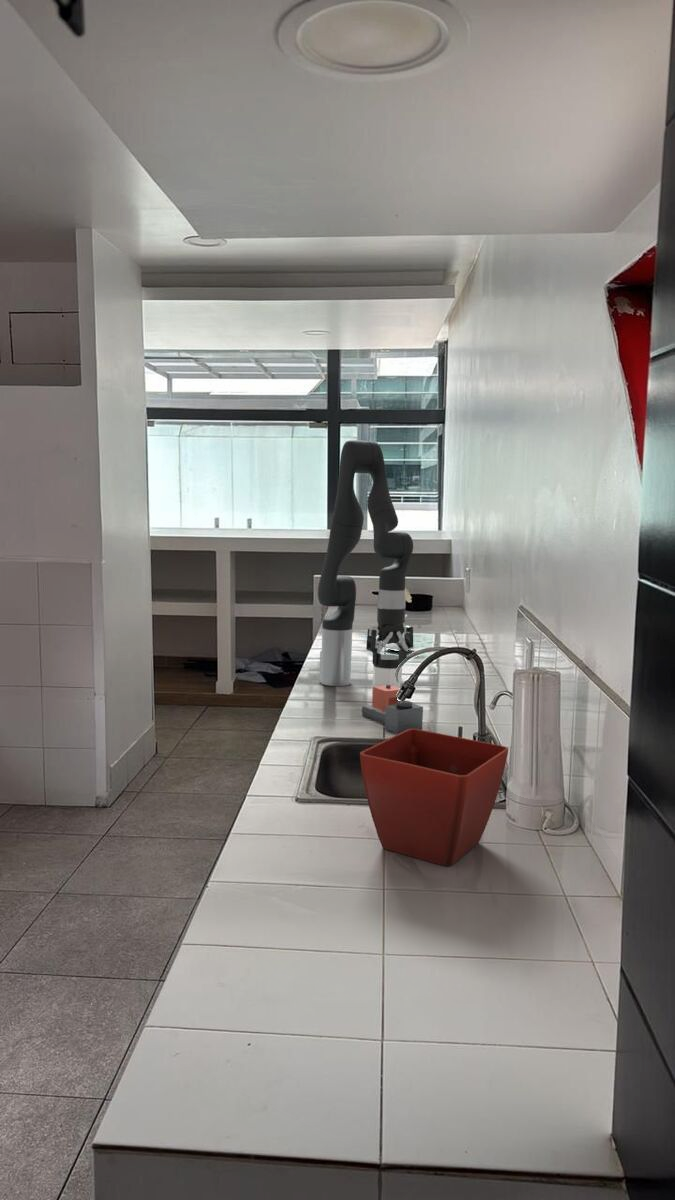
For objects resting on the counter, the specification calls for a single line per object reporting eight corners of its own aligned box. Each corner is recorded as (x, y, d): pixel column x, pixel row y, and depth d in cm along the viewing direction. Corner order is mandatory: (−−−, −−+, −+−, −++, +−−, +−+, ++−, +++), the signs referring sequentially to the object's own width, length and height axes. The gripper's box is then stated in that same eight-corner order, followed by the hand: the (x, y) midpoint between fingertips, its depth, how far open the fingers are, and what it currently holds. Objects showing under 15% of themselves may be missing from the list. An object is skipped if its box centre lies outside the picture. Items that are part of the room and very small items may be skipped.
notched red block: (372, 708, 240) (372, 683, 239) (389, 705, 243) (390, 681, 243) (385, 713, 235) (386, 688, 234) (402, 710, 238) (403, 686, 238)
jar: (382, 702, 247) (383, 660, 245) (365, 696, 254) (367, 655, 252) (407, 699, 252) (409, 658, 250) (390, 693, 259) (391, 653, 257)
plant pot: (459, 881, 134) (465, 775, 132) (353, 851, 144) (357, 752, 142) (505, 841, 150) (510, 746, 148) (406, 816, 160) (410, 727, 158)
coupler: (352, 716, 230) (353, 690, 230) (377, 712, 235) (378, 687, 234) (396, 734, 215) (398, 706, 214) (422, 730, 219) (423, 702, 218)
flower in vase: (415, 654, 322) (418, 587, 319) (384, 653, 322) (387, 586, 319) (413, 648, 335) (416, 583, 332) (383, 647, 335) (385, 582, 332)
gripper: (403, 603, 243) (401, 660, 245) (361, 605, 235) (360, 665, 237) (420, 606, 237) (418, 665, 239) (378, 609, 229) (376, 670, 231)
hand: (389, 665), depth 238 cm, fingers open, 8 cm apart
